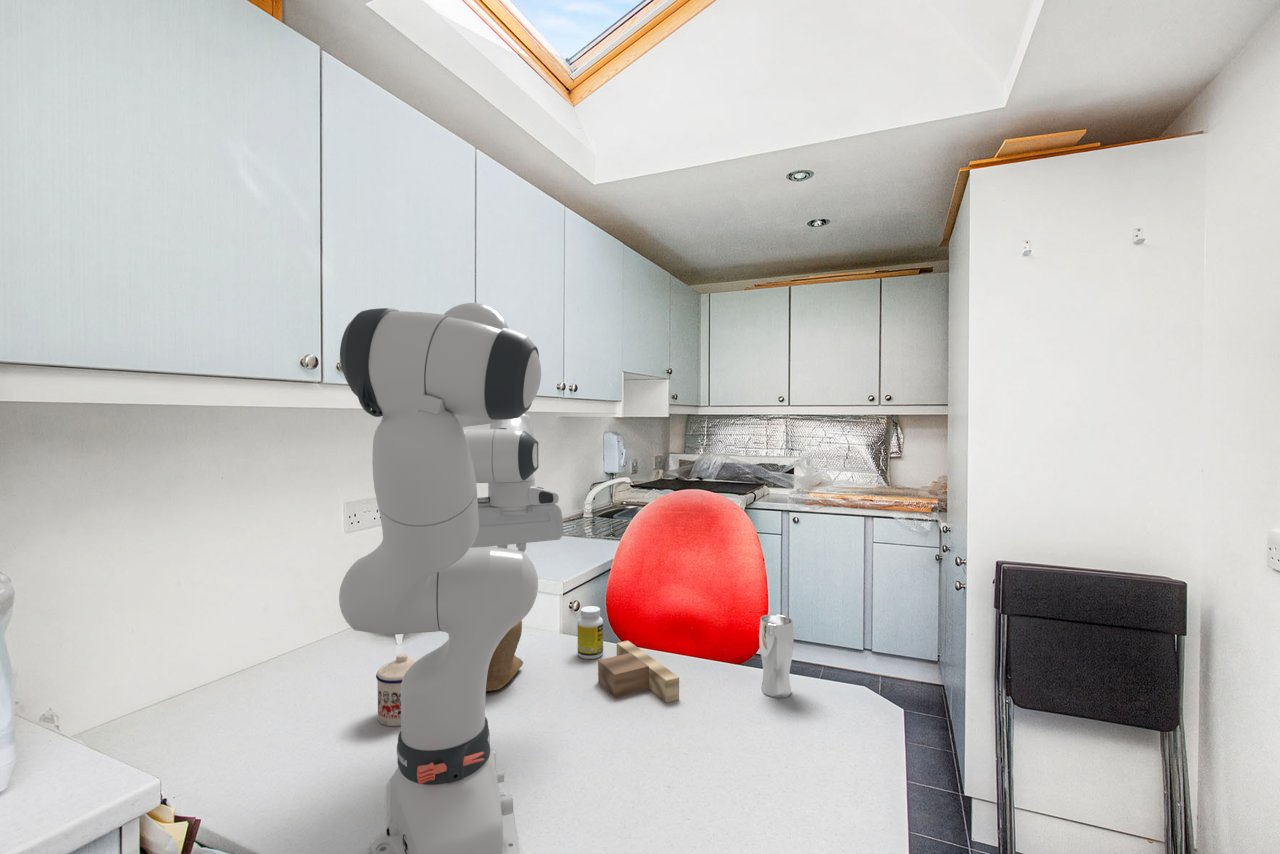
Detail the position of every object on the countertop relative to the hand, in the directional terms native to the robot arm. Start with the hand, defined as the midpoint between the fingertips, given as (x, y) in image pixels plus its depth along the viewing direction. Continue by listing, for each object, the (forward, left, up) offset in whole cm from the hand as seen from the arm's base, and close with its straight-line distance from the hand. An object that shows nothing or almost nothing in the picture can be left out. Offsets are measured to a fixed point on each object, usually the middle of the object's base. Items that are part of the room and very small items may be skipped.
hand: (511, 567), depth 112 cm
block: (-1, -24, -28) cm, 37 cm away
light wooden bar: (-1, -29, -28) cm, 40 cm away
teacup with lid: (+8, +18, -28) cm, 34 cm away
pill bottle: (+17, -24, -28) cm, 41 cm away
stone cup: (+15, -1, -28) cm, 32 cm away
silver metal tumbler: (-19, -50, -28) cm, 61 cm away
